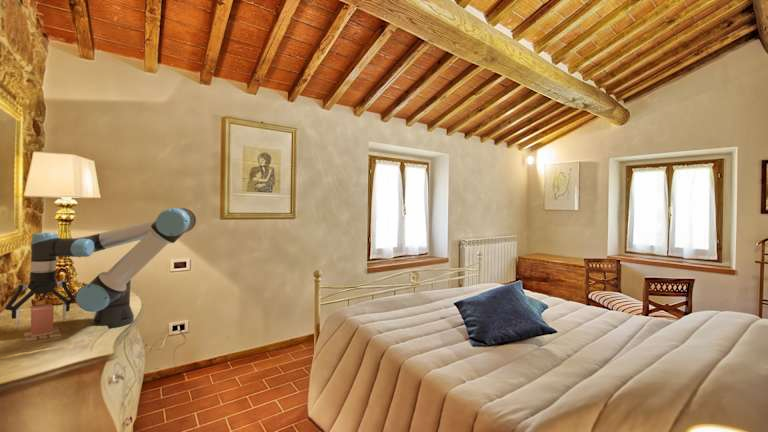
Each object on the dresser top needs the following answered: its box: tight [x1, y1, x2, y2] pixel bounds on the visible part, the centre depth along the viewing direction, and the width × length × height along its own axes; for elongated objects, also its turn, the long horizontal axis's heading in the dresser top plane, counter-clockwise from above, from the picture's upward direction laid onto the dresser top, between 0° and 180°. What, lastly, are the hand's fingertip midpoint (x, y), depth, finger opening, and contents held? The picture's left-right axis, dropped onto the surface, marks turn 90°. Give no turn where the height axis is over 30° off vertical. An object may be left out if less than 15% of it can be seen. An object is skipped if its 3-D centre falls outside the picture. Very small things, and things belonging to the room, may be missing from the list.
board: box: [23, 326, 63, 345], centre depth 138 cm, size 16×10×1 cm, turn 48°
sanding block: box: [30, 303, 55, 337], centre depth 140 cm, size 8×6×10 cm
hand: (41, 322), depth 140 cm, fingers open, 13 cm apart
